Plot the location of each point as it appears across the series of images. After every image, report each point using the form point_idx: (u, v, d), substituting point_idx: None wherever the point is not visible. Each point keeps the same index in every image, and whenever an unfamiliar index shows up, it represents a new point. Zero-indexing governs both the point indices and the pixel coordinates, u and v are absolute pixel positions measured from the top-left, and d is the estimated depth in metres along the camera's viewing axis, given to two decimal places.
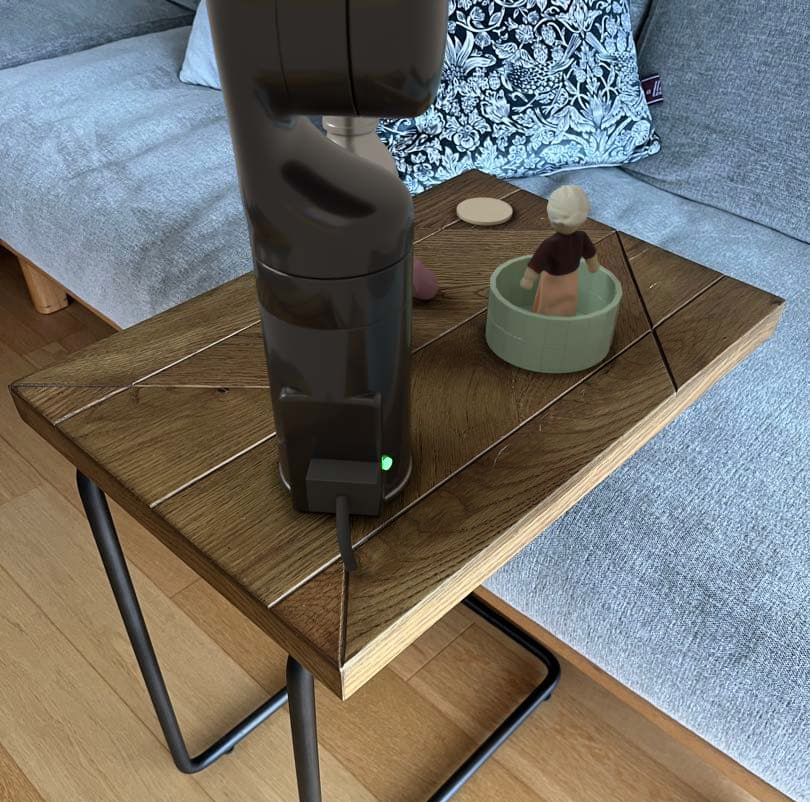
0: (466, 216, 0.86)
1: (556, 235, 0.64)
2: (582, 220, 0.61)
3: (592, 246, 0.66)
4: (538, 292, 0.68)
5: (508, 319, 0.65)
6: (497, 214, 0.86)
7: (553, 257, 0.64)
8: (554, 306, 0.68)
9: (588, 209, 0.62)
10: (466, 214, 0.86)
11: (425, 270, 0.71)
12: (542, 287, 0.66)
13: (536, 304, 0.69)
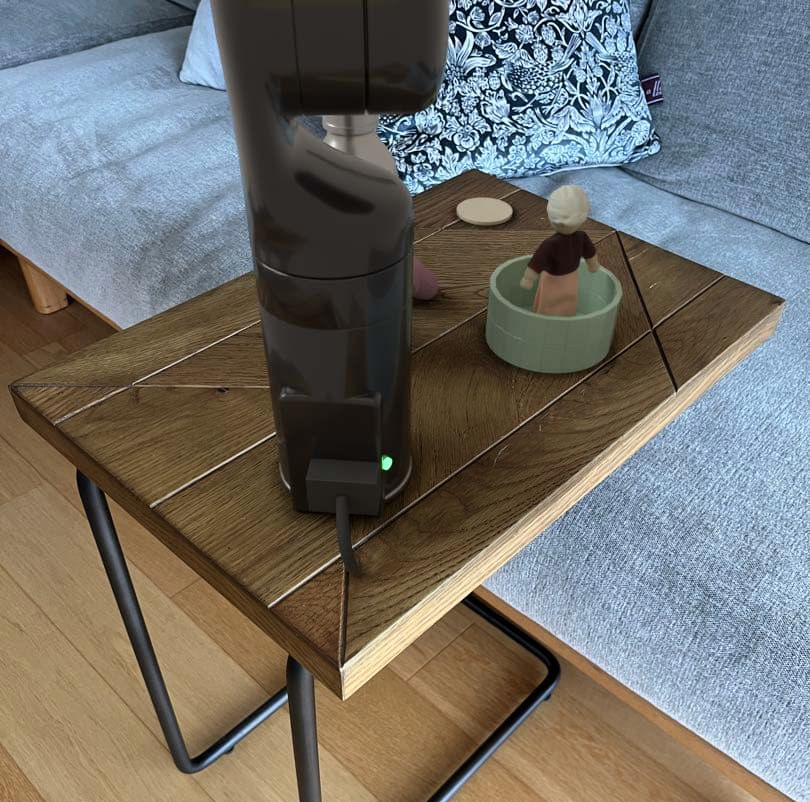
0: (466, 216, 0.86)
1: (556, 235, 0.64)
2: (582, 220, 0.61)
3: (592, 246, 0.66)
4: (538, 292, 0.68)
5: (508, 319, 0.65)
6: (497, 214, 0.86)
7: (553, 257, 0.64)
8: (554, 306, 0.68)
9: (588, 209, 0.62)
10: (466, 214, 0.86)
11: (425, 270, 0.71)
12: (542, 287, 0.66)
13: (536, 304, 0.69)
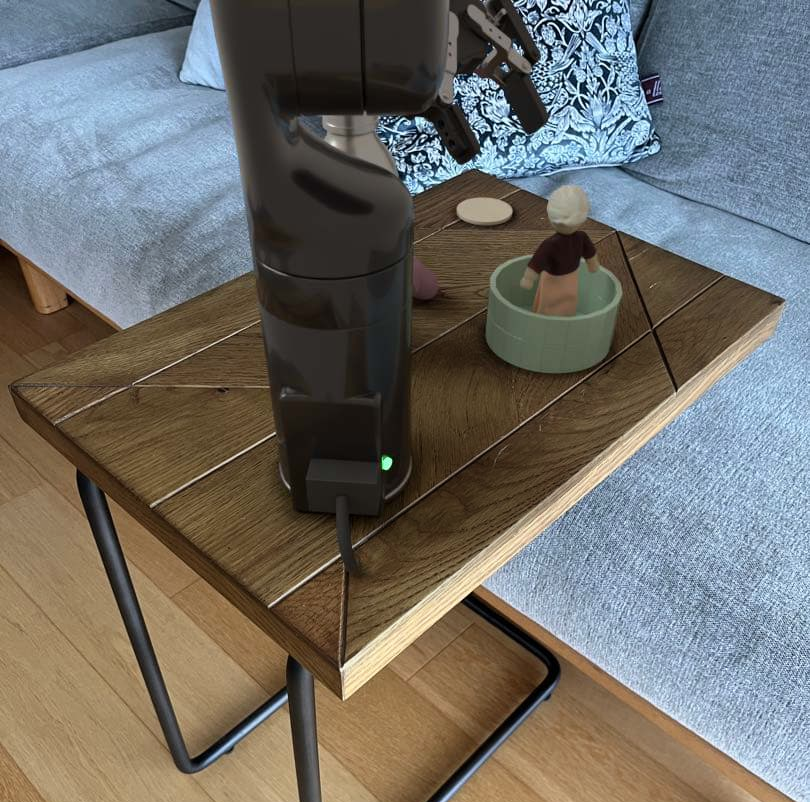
0: (466, 216, 0.86)
1: (556, 235, 0.64)
2: (582, 220, 0.61)
3: (592, 246, 0.66)
4: (538, 292, 0.68)
5: (508, 319, 0.65)
6: (497, 214, 0.86)
7: (553, 257, 0.64)
8: (554, 306, 0.68)
9: (588, 209, 0.62)
10: (466, 214, 0.86)
11: (425, 270, 0.71)
12: (542, 287, 0.66)
13: (536, 304, 0.69)
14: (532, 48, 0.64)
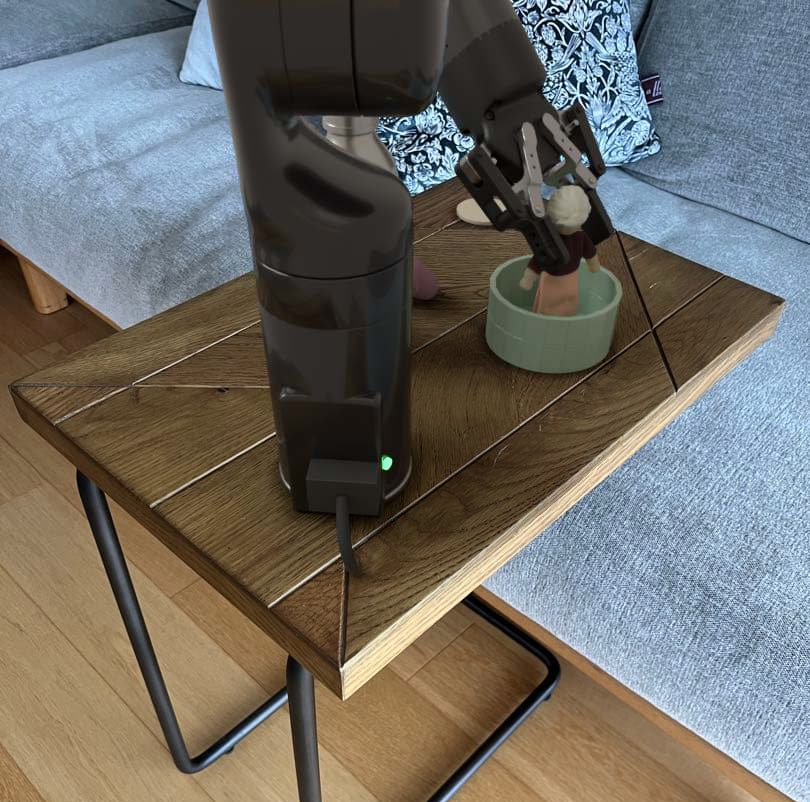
0: (466, 216, 0.86)
1: None
2: (582, 221, 0.61)
3: (592, 246, 0.65)
4: (538, 292, 0.68)
5: (508, 319, 0.65)
6: None
7: None
8: (554, 306, 0.67)
9: (588, 210, 0.62)
10: (466, 214, 0.86)
11: (425, 270, 0.71)
12: (542, 287, 0.66)
13: (536, 304, 0.69)
14: (598, 161, 0.65)
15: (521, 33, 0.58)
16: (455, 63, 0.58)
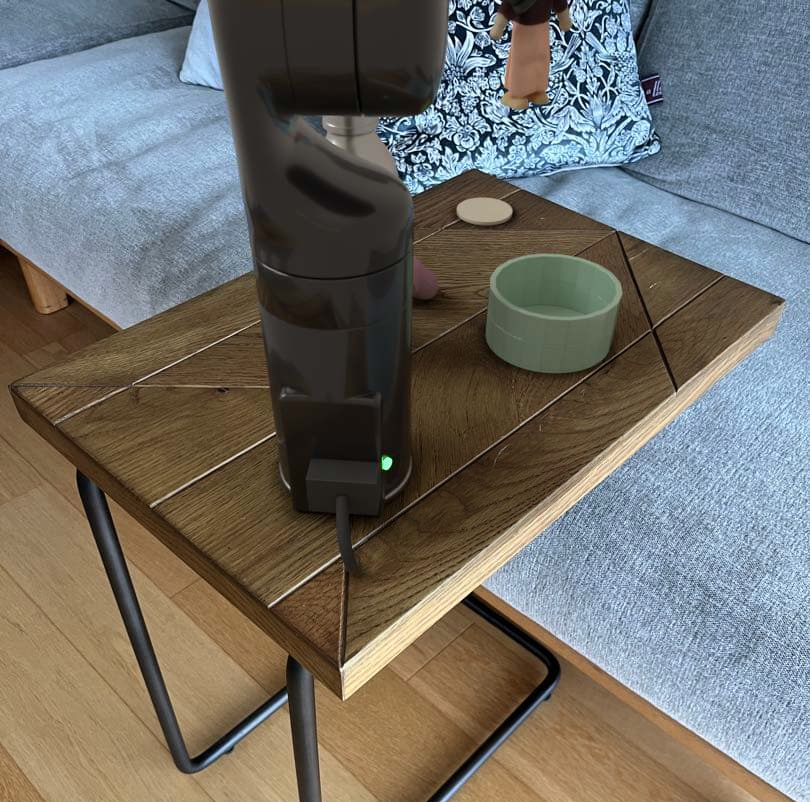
0: (466, 216, 0.86)
1: None
2: None
3: None
4: (510, 53, 0.68)
5: (508, 319, 0.65)
6: (497, 214, 0.86)
7: None
8: (525, 64, 0.67)
9: None
10: (466, 214, 0.86)
11: (425, 270, 0.71)
12: (513, 41, 0.66)
13: (508, 68, 0.69)
14: None
15: None
16: None
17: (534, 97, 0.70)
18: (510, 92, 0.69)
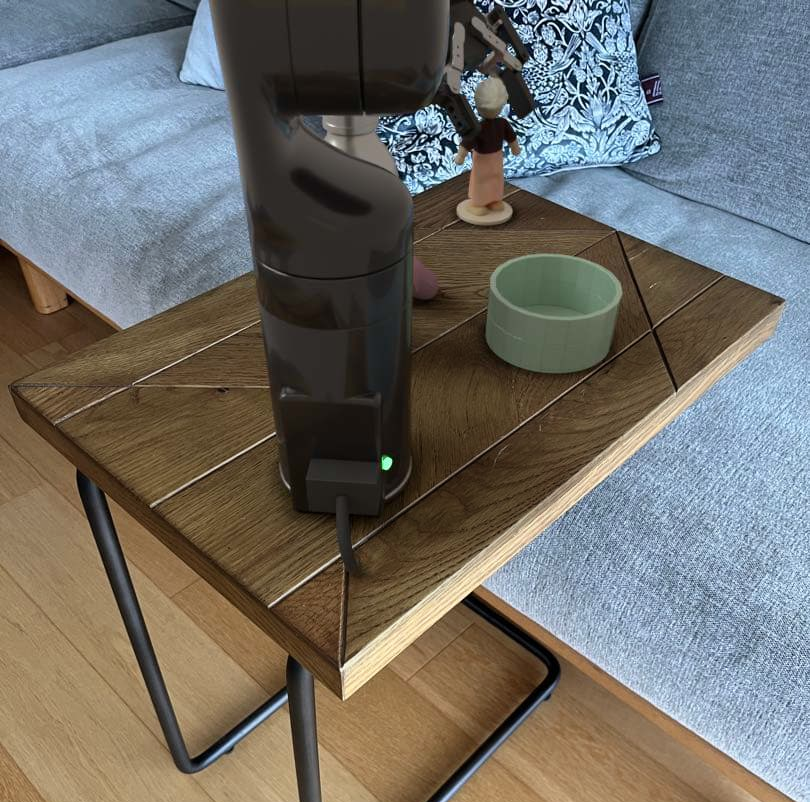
0: (466, 216, 0.86)
1: (482, 120, 0.81)
2: (500, 105, 0.78)
3: (513, 131, 0.82)
4: (472, 172, 0.85)
5: (508, 319, 0.65)
6: (497, 214, 0.86)
7: (480, 138, 0.81)
8: (484, 182, 0.84)
9: (505, 97, 0.79)
10: (466, 214, 0.86)
11: (425, 270, 0.71)
12: (473, 165, 0.83)
13: (471, 183, 0.86)
14: (522, 51, 0.82)
15: None
16: None
17: (492, 205, 0.87)
18: (472, 202, 0.86)
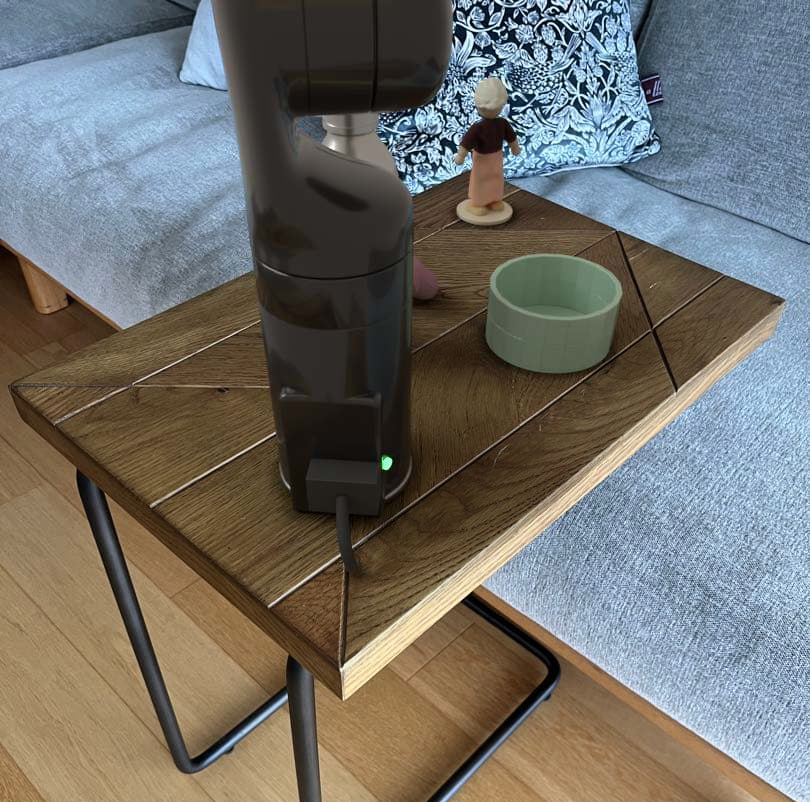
0: (466, 216, 0.86)
1: (482, 120, 0.81)
2: (500, 105, 0.78)
3: (513, 131, 0.82)
4: (472, 172, 0.85)
5: (508, 319, 0.65)
6: (497, 214, 0.86)
7: (480, 138, 0.81)
8: (484, 182, 0.84)
9: (505, 97, 0.79)
10: (466, 214, 0.86)
11: (425, 270, 0.71)
12: (473, 165, 0.83)
13: (471, 183, 0.86)
14: None
15: None
16: None
17: (492, 205, 0.87)
18: (472, 202, 0.86)
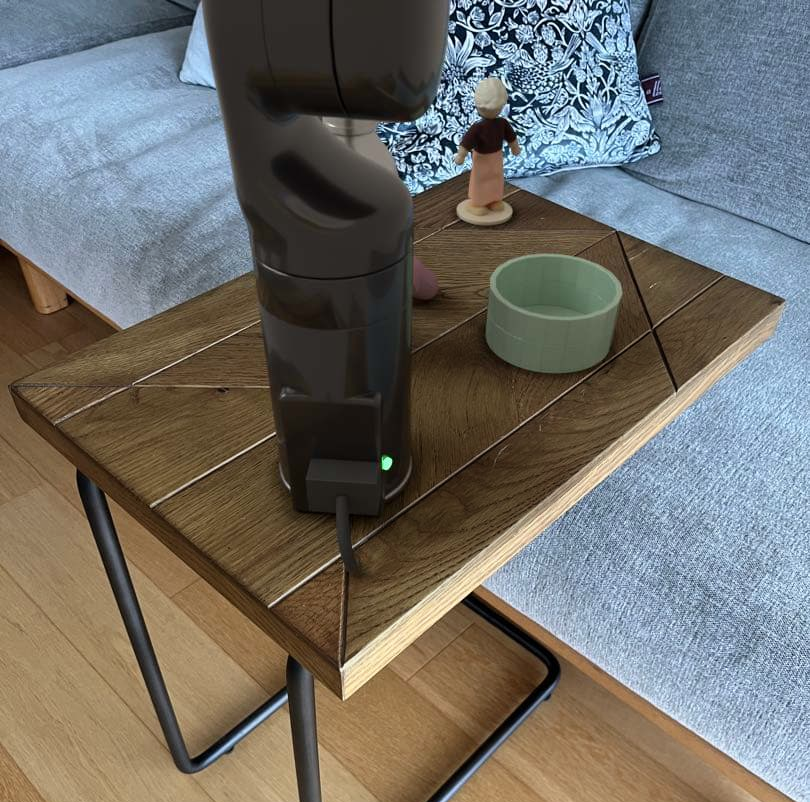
0: (466, 216, 0.86)
1: (482, 120, 0.81)
2: (500, 105, 0.78)
3: (513, 131, 0.82)
4: (472, 172, 0.85)
5: (508, 319, 0.65)
6: (497, 214, 0.86)
7: (480, 138, 0.81)
8: (484, 182, 0.84)
9: (505, 97, 0.79)
10: (466, 214, 0.86)
11: (425, 270, 0.71)
12: (473, 165, 0.83)
13: (471, 183, 0.86)
14: None
15: None
16: None
17: (492, 205, 0.87)
18: (472, 202, 0.86)
